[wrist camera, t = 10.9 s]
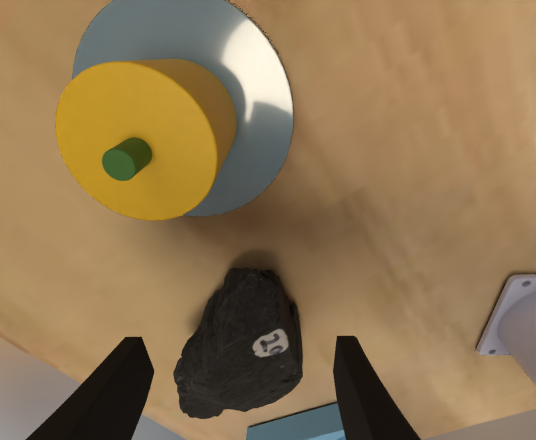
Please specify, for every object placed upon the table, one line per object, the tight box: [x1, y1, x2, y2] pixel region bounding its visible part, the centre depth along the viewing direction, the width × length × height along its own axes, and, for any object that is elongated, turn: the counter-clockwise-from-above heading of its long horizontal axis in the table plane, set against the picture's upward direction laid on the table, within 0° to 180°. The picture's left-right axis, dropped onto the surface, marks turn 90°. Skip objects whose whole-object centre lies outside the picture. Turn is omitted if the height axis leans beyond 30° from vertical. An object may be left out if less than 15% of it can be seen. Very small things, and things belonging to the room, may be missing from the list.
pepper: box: [55, 59, 237, 221], centre depth 12 cm, size 5×5×7 cm
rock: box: [173, 268, 303, 419], centre depth 20 cm, size 9×10×6 cm
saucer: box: [72, 0, 294, 216], centre depth 15 cm, size 11×11×1 cm
